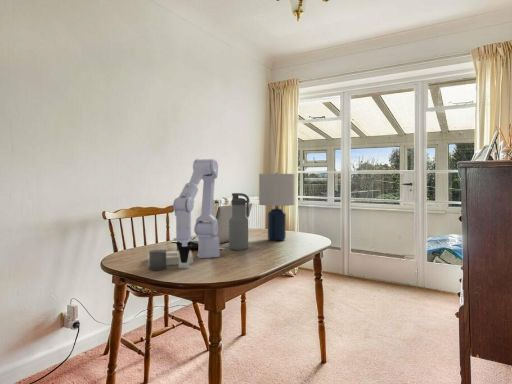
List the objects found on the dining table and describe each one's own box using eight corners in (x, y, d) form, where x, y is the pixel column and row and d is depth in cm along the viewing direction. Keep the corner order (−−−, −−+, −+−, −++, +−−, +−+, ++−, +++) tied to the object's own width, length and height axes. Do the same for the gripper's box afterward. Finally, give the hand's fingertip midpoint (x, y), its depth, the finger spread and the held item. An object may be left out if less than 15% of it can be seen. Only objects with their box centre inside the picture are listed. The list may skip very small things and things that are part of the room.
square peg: (188, 265, 138) (188, 248, 138) (189, 268, 134) (189, 250, 134) (178, 266, 137) (178, 249, 137) (178, 268, 133) (178, 251, 133)
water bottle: (248, 246, 178) (248, 192, 177) (250, 250, 168) (250, 193, 167) (228, 246, 177) (228, 192, 175) (229, 250, 167) (229, 193, 166)
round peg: (166, 266, 137) (166, 249, 137) (166, 270, 131) (166, 252, 131) (149, 267, 136) (149, 250, 135) (148, 271, 129) (148, 253, 129)
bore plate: (190, 257, 153) (190, 250, 153) (193, 263, 142) (192, 256, 142) (149, 259, 149) (149, 252, 149) (147, 266, 137) (147, 258, 137)
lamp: (272, 244, 182) (273, 172, 181) (252, 239, 199) (252, 172, 198) (301, 240, 194) (302, 172, 192) (279, 235, 210) (280, 172, 209)
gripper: (172, 225, 141) (173, 257, 142) (173, 230, 127) (174, 266, 128) (190, 224, 143) (190, 256, 144) (192, 229, 129) (193, 265, 130)
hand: (183, 261), depth 136 cm, fingers closed on square peg, 4 cm apart
